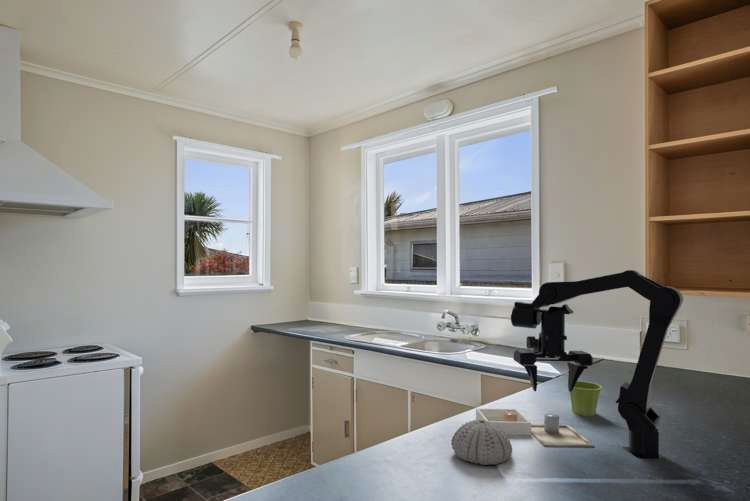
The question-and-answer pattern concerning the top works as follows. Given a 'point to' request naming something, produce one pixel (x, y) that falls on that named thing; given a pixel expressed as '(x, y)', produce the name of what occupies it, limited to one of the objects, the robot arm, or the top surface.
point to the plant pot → (585, 398)
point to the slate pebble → (551, 423)
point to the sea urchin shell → (481, 443)
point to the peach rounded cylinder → (510, 416)
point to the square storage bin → (508, 427)
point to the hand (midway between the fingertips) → (552, 391)
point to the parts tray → (559, 437)
